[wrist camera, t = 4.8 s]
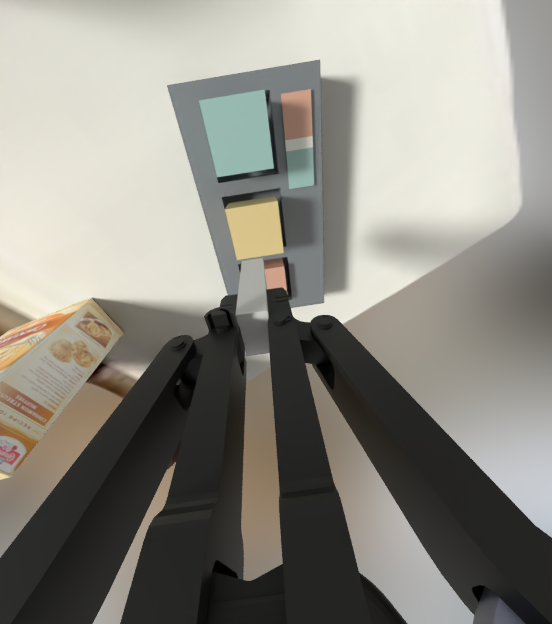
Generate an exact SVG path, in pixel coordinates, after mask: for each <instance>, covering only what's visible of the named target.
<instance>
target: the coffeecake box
mask: <svg viewBox="0 0 552 624" xmlns="http://www.w3.org/2000/svg"><path fill="white" fill-rule="evenodd" d="M123 334H124V332H123V331H122V330H121V329H120V328H119V327H118V326H117V325H116V324H115V323H114V322H113V321H112V320H111V319H110V318H109V316H108V315H107V314H106V313H105V312H104V310H103V309H102V308H101V307H100V306H99V305H98V304H97V303H96V302H95V301H94V300H93V299H92V298H89V299H87V300H84V301H81V302H79V303H76V304H73V305H71V306H68V307H66V308H63V309H61V310H58V311H56V312H53V313H51V314H48V315H46V316H43V317H41V318H38V319H36V320H33V321H31V322H28V323H26V324H23V325H21V326H18V327H16V328H14V329H11V330H9V331H8V332H6V333H5V334H4V335H2V336H1V337H0V480H1V479H4V478H9V477H11V476H13V474H14V472H15V471H16V469H17V468H18V467H19V465H20V464H21V463H22V462H23V460H24V459H25V458H26V457H27V455H28V454H29V453H30V451H31V450H32V449H33V448H34V446H35V445H36V444H37V443H38V441H39V440H40V439H41V437H42V436H43V435H44V434H45V432H46V431H47V430H48V429H49V428H50V426H51V425H52V424H53V422H54V421H55V420H56V419H57V417H58V416H59V415H60V414H61V412H62V411H63V410H64V408H65V407H66V406H67V405H68V403H69V402H70V401H71V399H72V398H73V397H74V395H75V394H76V393H77V392H78V391H79V389H80V388H81V387H82V385H83V384H84V383H85V382H86V380H87V379H88V378H89V377H90V375H91V374H92V373H93V372H94V370H95V369H96V368H97V367H98V365H99V364H100V363H101V361H102V360H103V359H104V358H105V356H106V355H107V354H108V352H109V351H110V350H111V349H112V347H113V346H114V345H115V344H116V342H117V341H118V340H119V339H120V337H121V336H122V335H123Z"/></svg>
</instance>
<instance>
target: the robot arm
mask: <svg viewBox="0 0 552 624" xmlns="http://www.w3.org/2000/svg"><path fill="white" fill-rule="evenodd" d="M204 318H205V320H206V323H207V326H208V329H209V334H208V335H206V336H204V337H202V338H199V339H196V340H193V338H192V337H191V336H188V335H181V336H178V337H175V338H173V339H172V340H170V341H169V342H168V343H167V344H166V345H165V346H164V347H163V349H162V350H161V351H160V353H159V354H158V355H157V356H156V358H155V359H154V360H153V362H152V363H151V364H150V365H149V367H148V368H147V369H146V371H145V372H144V373H143V375H142V376H141V377H140V378H139V380H138V381H137V382H136V384H135V385H134V386H133V387H132V389H131V390H130V391H129V393H128V394H127V395H126V396H125V398H124V399H123V400H122V402H121V403H120V404H119V406H118V407H117V408H116V409H115V411H114V412H113V413H112V415H111V416H110V417H109V418H108V420H107V421H106V422H105V424H104V425H103V426H102V427H101V429H100V430H99V431H98V433H97V434H96V435H95V436H94V438H93V439H92V440H91V442H90V443H89V444H88V446H87V447H86V448H85V449H84V451H83V452H82V453H81V455H80V456H79V457H78V458H77V460H76V461H75V462H74V464H73V465H72V466H71V467H70V469H69V470H68V471H67V473H66V474H65V476H63V478H62V479H61V480H60V482H59V483H58V484H57V486H56V487H55V488H54V490H53V491H52V492H51V493H50V495H49V496H48V497H47V498H46V500H45V501H44V502H43V504H42V505H41V506H40V507H39V509H38V510H37V511H36V513H35V514H34V515H33V517H32V518H31V519H30V521H29V522H28V523H27V524H26V526H25V527H24V528H23V530H22V531H21V532H20V533H19V535H18V536H17V537H16V539H15V540H14V541H13V542H12V544H11V545H10V546H9V548H8V549H7V550H6V551H5V553H4V554H3V555H2V557H1V558H0V624H92V623H93V622H94V620H95V618H96V616H97V614H98V612H99V610H100V608H101V606H102V604H103V602H104V600H105V598H106V596H107V594H108V592H109V590H110V588H111V586H112V584H113V582H114V580H115V578H116V575H117V573H118V571H119V569H120V567H121V565H122V563H123V561H124V559H125V556H126V554H127V552H128V550H129V548H130V546H131V544H132V542H133V540H134V537H135V535H136V533H137V531H138V529H139V527H140V525H141V522H142V520H143V518H144V516H145V514H146V512H147V510H148V508H149V506H150V504H151V501H152V499H153V497H154V495H155V493H156V491H157V489H158V487H159V485H160V482H161V480H162V478H163V476H164V474H165V472H166V470H167V468H168V466H169V464H170V461H171V459H172V457H173V455H174V453H175V451H176V449H177V447H178V445H179V443H180V440H181V438H182V441H181V445H180V449H179V453H178V457H177V461H176V465H175V469H174V473H173V478H172V481H171V485H170V489H169V493H168V497H167V501H166V504H165V506H164V508H163V510H162V511H161V512H160V513H159V514H157V515H156V516H155V517H154V519H153V520H152V522H151V524H150V525H149V528H148V530H147V533H146V536H145V539H144V542H143V545H142V549H141V552H140V556H139V559H138V563H137V567H136V570H135V574H134V577H133V581H132V585H131V588H130V591H129V595H128V598H127V602H126V605H125V609H124V612H123V616H122V619H121V623H120V624H407V623H406V621H405V620H404V619H403V618H402V616H401V615H400V614H399V613H398V611H397V610H396V609H395V608H394V606H393V605H392V604H391V603H390V601H389V600H388V599H387V598H386V597H385V595H384V594H383V593H382V592H381V591H380V590H379V589H378V588H377V587H376V586H375V585H374V584H373V583H372V582H371V581H369V580H368V579H367V578H366V577H364V576H363V575H362V574H360V573H359V571H358V567H357V563H356V559H355V555H354V551H353V547H352V543H351V539H350V535H349V531H348V527H347V523H346V519H345V515H344V511H343V507H342V503H341V500H340V497H339V494H338V491H337V489H336V487H335V485H334V482H333V478H332V474H331V470H330V466H329V461H328V457H327V453H326V449H325V445H324V441H323V436H322V432H321V428H320V424H319V420H318V415H317V411H316V407H315V403H314V399H313V395H312V391H311V386H310V382H309V378H308V374H307V369H306V365H305V363H310V364H312V365H313V367H314V369H315V371H316V372H317V374H318V376H319V377H320V379H321V381H322V382H323V384H324V385H325V387H326V389H327V390H328V392H329V394H330V395H331V397H332V398H333V400H334V402H335V403H336V405H337V406H338V408H339V410H340V412H341V413H342V415H343V416H344V418H345V420H346V421H347V423H348V424H349V426H350V428H351V429H352V431H353V433H354V434H355V436H356V437H357V439H358V441H359V442H360V444H361V445H362V447H363V449H364V451H365V452H366V454H367V455H368V457H369V459H370V460H371V462H372V464H373V465H374V467H375V468H376V470H377V472H378V473H379V475H380V477H381V478H382V480H383V481H384V483H385V485H386V486H387V488H388V490H389V491H390V493H391V494H392V496H393V498H394V499H395V501H396V503H397V504H398V506H399V508H400V509H401V511H402V512H403V514H404V516H405V517H406V519H407V521H408V522H409V524H410V525H411V527H412V529H413V530H414V532H415V533H416V535H417V537H418V538H419V540H420V542H421V543H422V545H423V547H424V548H425V550H426V551H427V553H428V554H429V555H430V557H431V559H432V560H433V562H434V563H435V565H436V566H437V568H438V569H439V571H440V572H441V574H442V575H443V576H444V578H445V579H446V580H447V582H448V583H449V584H450V586H451V587H452V588H453V590H454V591H455V592H456V593H457V595H458V596H459V597H460V599H461V600H462V601H463V603H464V604H465V605H466V606H467V607H468V608H469V610H470V611H471V612H472V613H473V614H474V621H473V624H552V538H551V537H550V536H548V535H547V534H546V533H544V532H543V531H542V530H540V529H539V528H538V527H536V526H535V525H534V524H533V523H532V522H531V521H530V520H529V519H528V518H527V517H526V515H525V514H524V513H523V512H522V511H521V510H520V509H519V508H518V507H517V506H516V505H515V504H514V503H513V502H512V501H511V500H510V499H509V498H508V497H507V496H506V495H505V494H504V493H503V491H501V489H500V488H499V487H498V486H497V485H496V484H495V483H494V482H493V481H492V480H491V479H490V478H489V477H488V476H487V475H486V474H485V473H484V472H483V471H482V470H481V469H480V468H479V466H477V464H476V463H475V462H474V461H473V460H472V459H470V457H469V456H468V455H467V454H466V453H465V452H464V451H463V450H462V449H461V448H460V447H459V446H458V445H457V443H456V442H454V440H453V439H452V438H451V437H450V436H449V435H448V434H447V433H446V432H445V431H444V430H443V429H442V428H441V427H440V426H439V425H438V424H437V423H436V422H435V421H434V420H433V418H432V417H431V416H429V414H428V413H427V412H426V411H425V410H424V409H423V408H422V407H421V406H420V405H419V404H418V403H417V402H416V401H415V400H414V399H413V398H412V397H411V395H410V394H409V393H408V392H406V390H405V389H404V388H403V387H402V386H401V385H400V384H399V383H398V382H397V381H396V380H395V379H394V378H393V377H392V376H391V375H390V374H389V373H388V371H386V369H385V368H384V367H383V366H382V365H381V364H380V363H379V362H378V361H377V360H376V359H375V358H374V357H373V356H372V355H371V354H370V353H369V352H368V351H367V350H366V349H365V347H364V346H363V345H362V344H361V343H360V342H358V340H357V339H356V338H355V337H354V336H353V335H352V334H351V333H350V332H349V331H348V330H347V329H346V328H345V327H344V326H343V325H342V323H341V322H340V321H339V320H338V319H336V318H335V317H333V316H330V315H320V316H317V317H315V318H313V319H312V320H311V323H309V322H301V321H298V320H297V319H295V318H294V317H293V315H292V312H291V307H290V303H289V299H288V295H287V291H286V290H285V289H284V288H283V287H281V288H273V289H268V288H267V281H266V275H265V268H264V262H263V258H259V259H252V260H245V261H242V263H241V272H240V281H239V289H238V294H235V295H228V296H225V297H224V298H223V299H222V300H221V304H220V307H219V308H215V309H213V310H210V311H209V312H208V313H206V315H205V317H204ZM245 352H246V356H250V355H257V354H265V353H270V364H271V377H272V391H273V405H274V418H275V431H276V445H277V459H278V472H279V486H280V496H279V513H280V529H281V544H282V557H283V564H282V565H280V566H278V567H276V568H274V569H273V570H271V571H269V572H267V573H265V574H264V575H262V576H260V577H258V578H256V579H254V580H252V581H245V580H243V566H244V557H243V556H244V553H243V552H244V551H243V540H242V534H241V509H242V480H243V476H242V475H243V449H244V421H245V419H244V418H245V390H246V360H245ZM182 436H183V437H182Z"/></svg>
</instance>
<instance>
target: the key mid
mask: <svg viewBox="0 0 552 624" xmlns="http://www.w3.org/2000/svg"><path fill="white" fill-rule="evenodd" d="M225 212H226V216H227V221H228V225H229V229H230V233H231V237H232V241H233V246H234V250H235V254H236V258H237V260H241V259H247V258H254V257H260V256H267V255H274V254H280V253H284V251H283V242H282V234H281V225H280V216H279V208H278V201H277V199H276V197H275V196H271V197H265V198H258V199H252V200H246V201H239V202H233V203H229V204H228V205H227V207H226V208H225Z"/></svg>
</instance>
